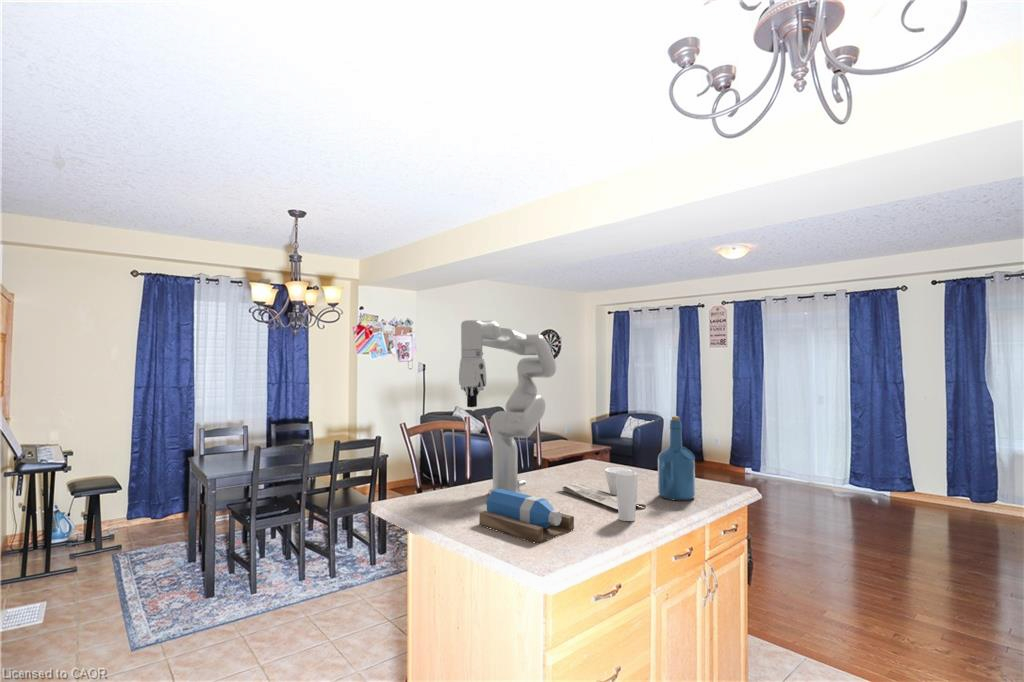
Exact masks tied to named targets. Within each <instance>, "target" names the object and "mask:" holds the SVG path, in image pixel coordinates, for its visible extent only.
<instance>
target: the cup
mask: <svg viewBox="0 0 1024 682" xmlns="http://www.w3.org/2000/svg"><path fill="white" fill-rule="evenodd" d="M618 471H632V470H631V469H629V468H626V467H618V466H617V467H615V466H614V467H607V468H605V469H604V474H605V477H606V481H607V482H606V483H607V485H608V489H609V493H610V494H613V495H616V496H617V491H616V472H618Z"/></svg>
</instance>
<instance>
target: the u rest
mask: <svg viewBox="0 0 1024 682" xmlns="http://www.w3.org/2000/svg"><path fill="white" fill-rule="evenodd" d="M560 513H561V514H562V520H561V522H560V524H559V525H557V526H555V525H551V526H549V527H547V528H545V529H543V528H542V527H539V526H536V525H532V524H529V523H525V522H522V521H518V520H515V519H511V518H508V517H505V516H501V515H498V514H494V513H491V512H487V510H483V511H481V512H480V511H479V514H478V515H479V517H478V518H479V523H478V524H479V526H480V525H482V526H481V527H483V526H485V527H484V528H486V527H488V528H487V529H489V528H491V529H490V530H492V529H494V530H493V531H495V530H497V531H496V532H498V531H500V532H499V533H501V532H503V533H502V534H504V535H508V536H511V535H512V536H511V537H514V536H515V537H514V538H517V537H519V538H518V539H520V538H522V539H521V540H523V539H525V540H524V541H526V540H528V542H529V541H531V542H530V543H533V542H535V543H534V544H536V543H539V544H541V543H540V542H542V543H544V542H546V541H545V540H547V541H549V540H552V539H554V538H557V537H559V536H561V535H560V534H562V535H564V534H563V533H565V532H567V533H569V532H568V531H570V532H572V531H574V530H575V516H574V515H569V514H566V513H562V512H560ZM573 529H574V530H573ZM571 530H572V531H571ZM565 534H566V533H565ZM558 535H559V536H558ZM556 536H557V537H556ZM553 537H554V538H553ZM551 538H552V539H551ZM548 539H549V540H548ZM543 541H544V542H543Z"/></svg>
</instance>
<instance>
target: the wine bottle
mask: <svg viewBox="0 0 1024 682" xmlns="http://www.w3.org/2000/svg"><path fill="white" fill-rule="evenodd" d="M682 427H683V426H682V422H681V420H680V416H678V415H677V416H676V415H673V416H671V420H670V422H669V446H668V447H667V448H665V449H663V450H662V451H660V453H659V454H658V455H657V484H658V485H657V492H658V495H659V496H660V497H661V498H663V497H664V498H663V499H666V498H667V499H666V500H670V499H674V500H673V501H677V500H685V501H689V500H693V499H694V498H695V496H696V472H695V471H696V462H695V461H696V460H695V459H696V456H695V455H694V453H693V452H692V451H691V450H690V449H688V448H687V447H685V446H683V439H682V430H683V428H682Z"/></svg>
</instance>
